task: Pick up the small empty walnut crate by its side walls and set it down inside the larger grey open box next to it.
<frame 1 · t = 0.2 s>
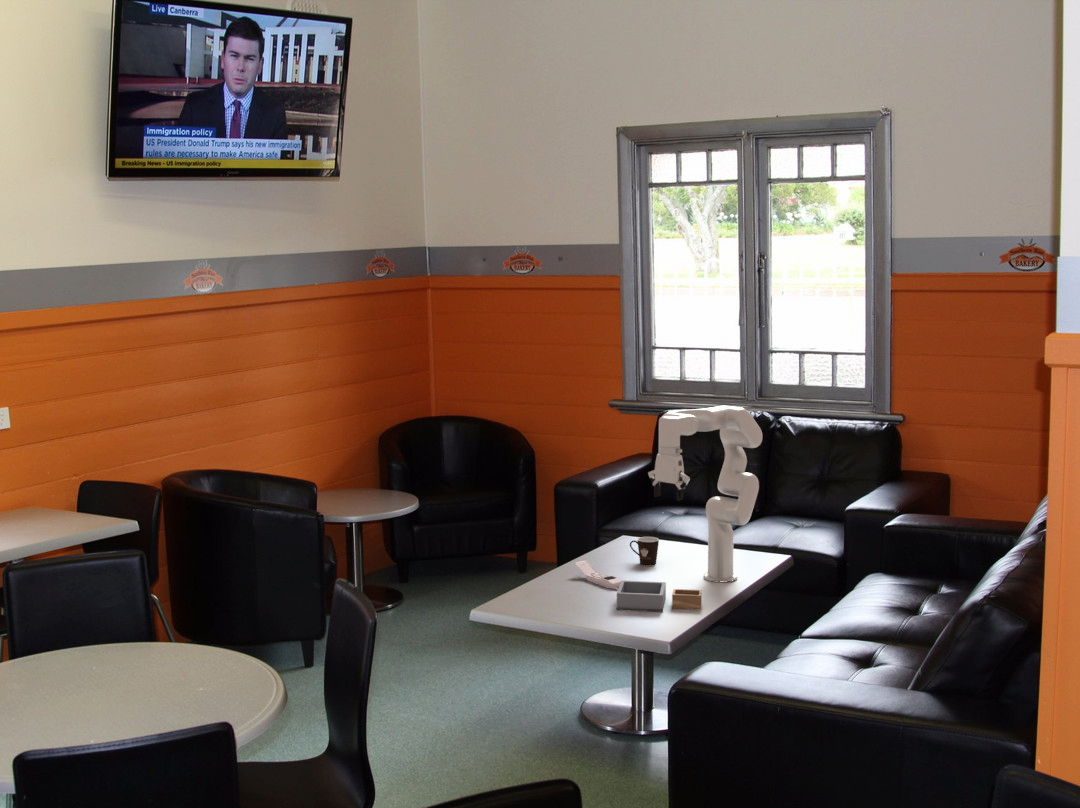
hand: (668, 498, 409), 37 cm above the table, tool pointing down, fingers open, 9 cm apart
coffee mug: (645, 563, 460), on the table
mobile phone: (600, 583, 434), on the table
walnut crate: (687, 606, 403), on the table
grey open box: (641, 604, 406), on the table
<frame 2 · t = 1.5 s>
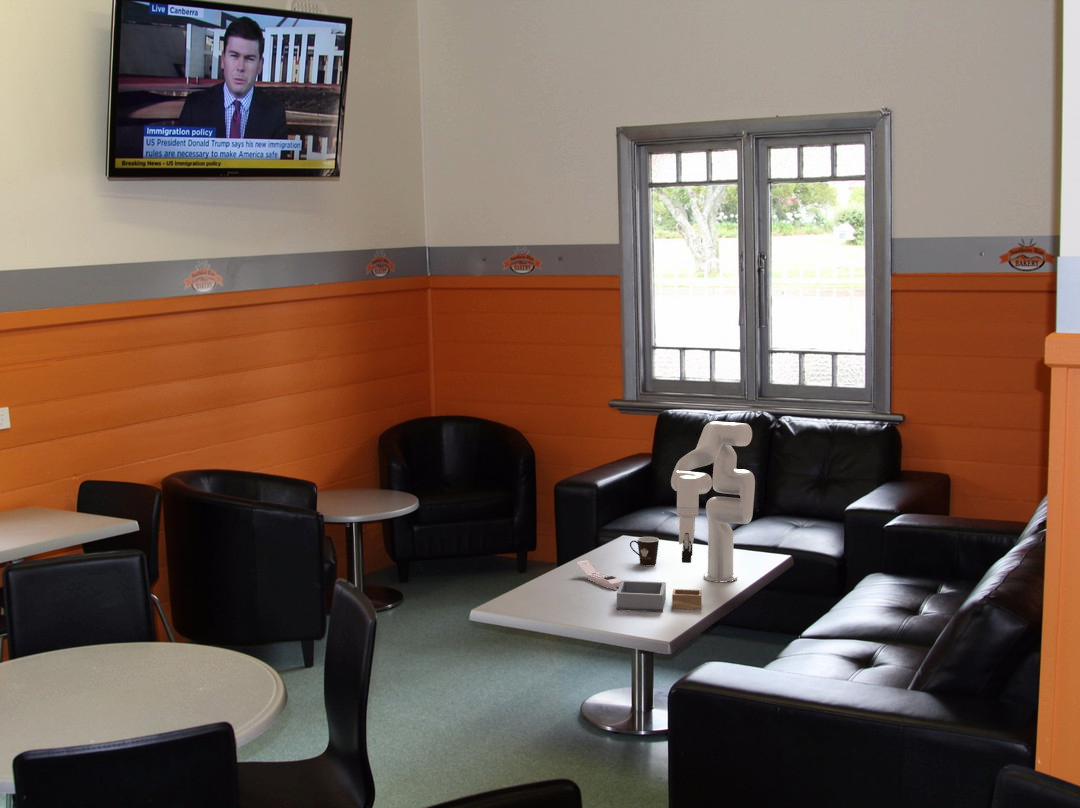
hand: (687, 559, 401), 17 cm above the table, tool pointing down, fingers open, 9 cm apart
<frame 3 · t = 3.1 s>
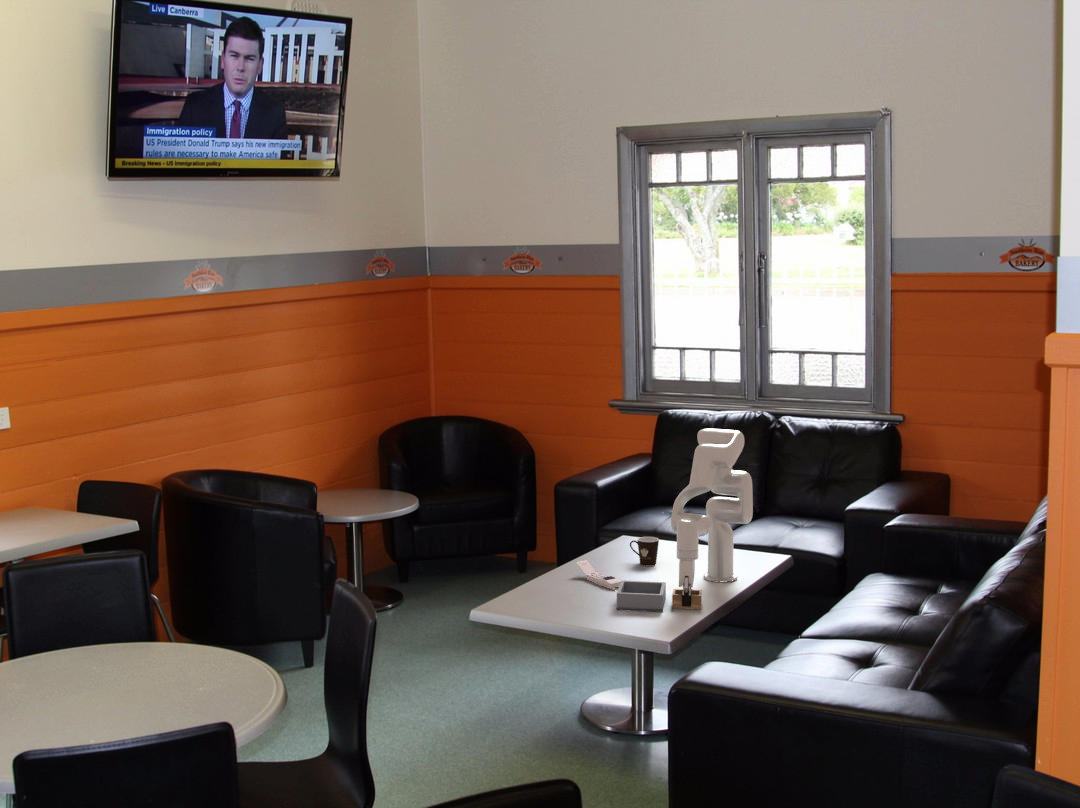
hand: (687, 602, 403), 1 cm above the table, tool pointing down, fingers closed on walnut crate, 7 cm apart
walnut crate: (687, 606, 403), on the table, touching gripper
everything else where it was.
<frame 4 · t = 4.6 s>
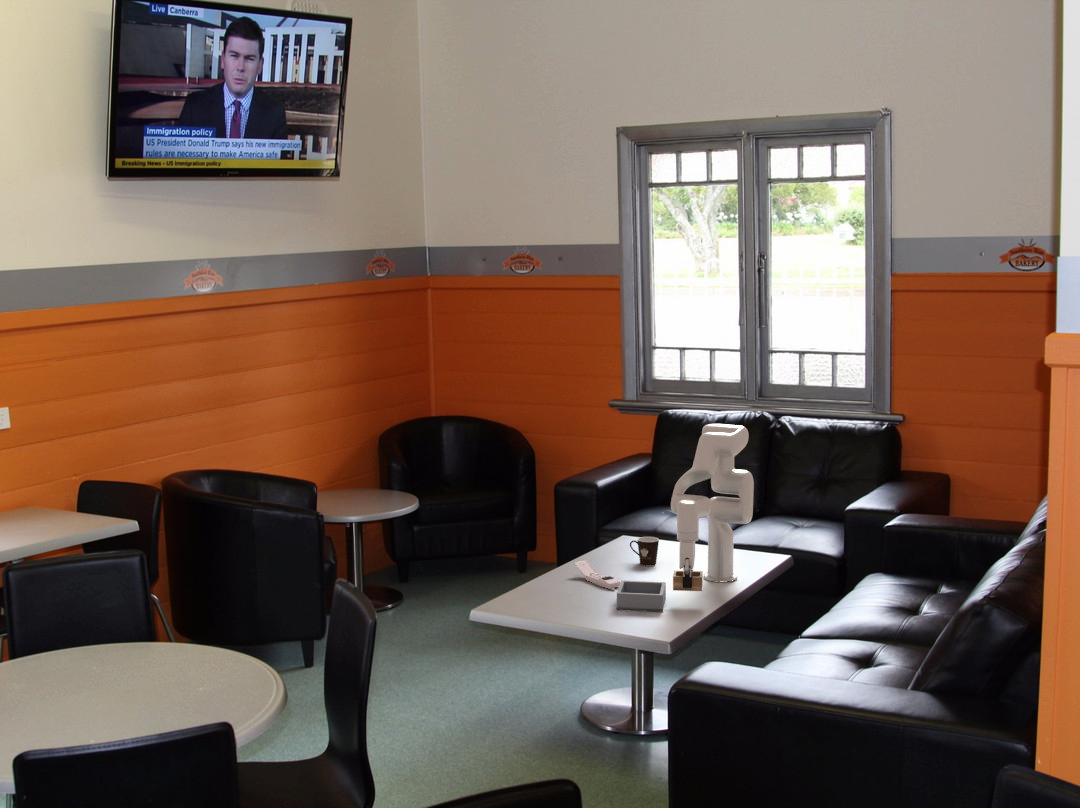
hand: (687, 583, 403), 8 cm above the table, tool pointing down, fingers closed on walnut crate, 7 cm apart
walnut crate: (687, 587, 403), point 6 cm above the table, touching gripper
everything else where it was.
when the fingers open (4 cm above the table, at t = 9.7 s): walnut crate drops 2 cm, resting on grey open box.
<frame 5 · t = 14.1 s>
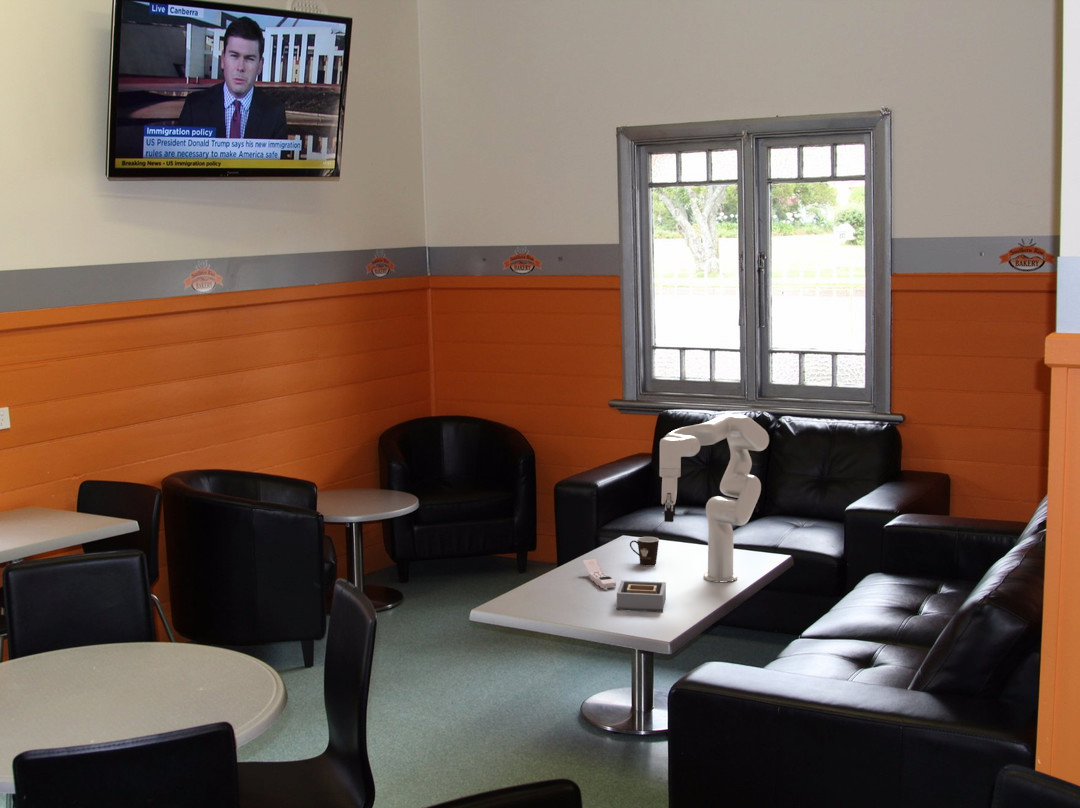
hand: (669, 518, 414), 28 cm above the table, tool pointing down, fingers open, 9 cm apart
mobile phone: (600, 582, 435), on the table
walnut crate: (641, 601, 406), point 1 cm above the table, touching grey open box
everything else where it was.
at the end: walnut crate inside the target area on the grey open box (0.1 cm from its centre), point 1.0 cm above the grey open box's base; walnut crate tilted 0°; the gripper is holding nothing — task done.
